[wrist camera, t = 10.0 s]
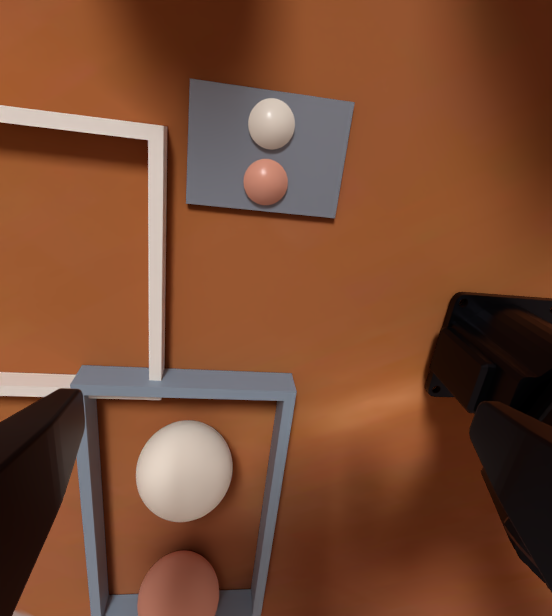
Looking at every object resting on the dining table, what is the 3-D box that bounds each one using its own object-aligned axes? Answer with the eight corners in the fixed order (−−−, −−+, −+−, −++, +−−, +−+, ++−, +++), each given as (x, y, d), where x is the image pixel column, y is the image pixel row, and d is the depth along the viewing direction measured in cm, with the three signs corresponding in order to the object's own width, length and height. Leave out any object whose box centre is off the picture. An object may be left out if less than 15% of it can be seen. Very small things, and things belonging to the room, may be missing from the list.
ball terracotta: (222, 532, 27) (221, 612, 22) (217, 581, 29) (215, 664, 24) (145, 533, 26) (128, 617, 22) (145, 584, 28) (130, 670, 24)
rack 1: (167, 126, 17) (163, 125, 16) (164, 387, 22) (161, 400, 21) (-191, 81, 15) (-223, 76, 14) (-106, 378, 20) (-125, 392, 19)
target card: (352, 102, 18) (355, 101, 17) (333, 217, 20) (335, 219, 19) (190, 79, 17) (189, 77, 16) (186, 202, 18) (185, 204, 18)
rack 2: (291, 373, 23) (296, 391, 21) (258, 594, 30) (259, 620, 28) (82, 365, 21) (70, 384, 19) (100, 601, 28) (92, 629, 27)
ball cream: (234, 402, 23) (238, 467, 19) (227, 468, 25) (230, 542, 20) (143, 401, 22) (125, 469, 18) (144, 470, 24) (128, 547, 20)
